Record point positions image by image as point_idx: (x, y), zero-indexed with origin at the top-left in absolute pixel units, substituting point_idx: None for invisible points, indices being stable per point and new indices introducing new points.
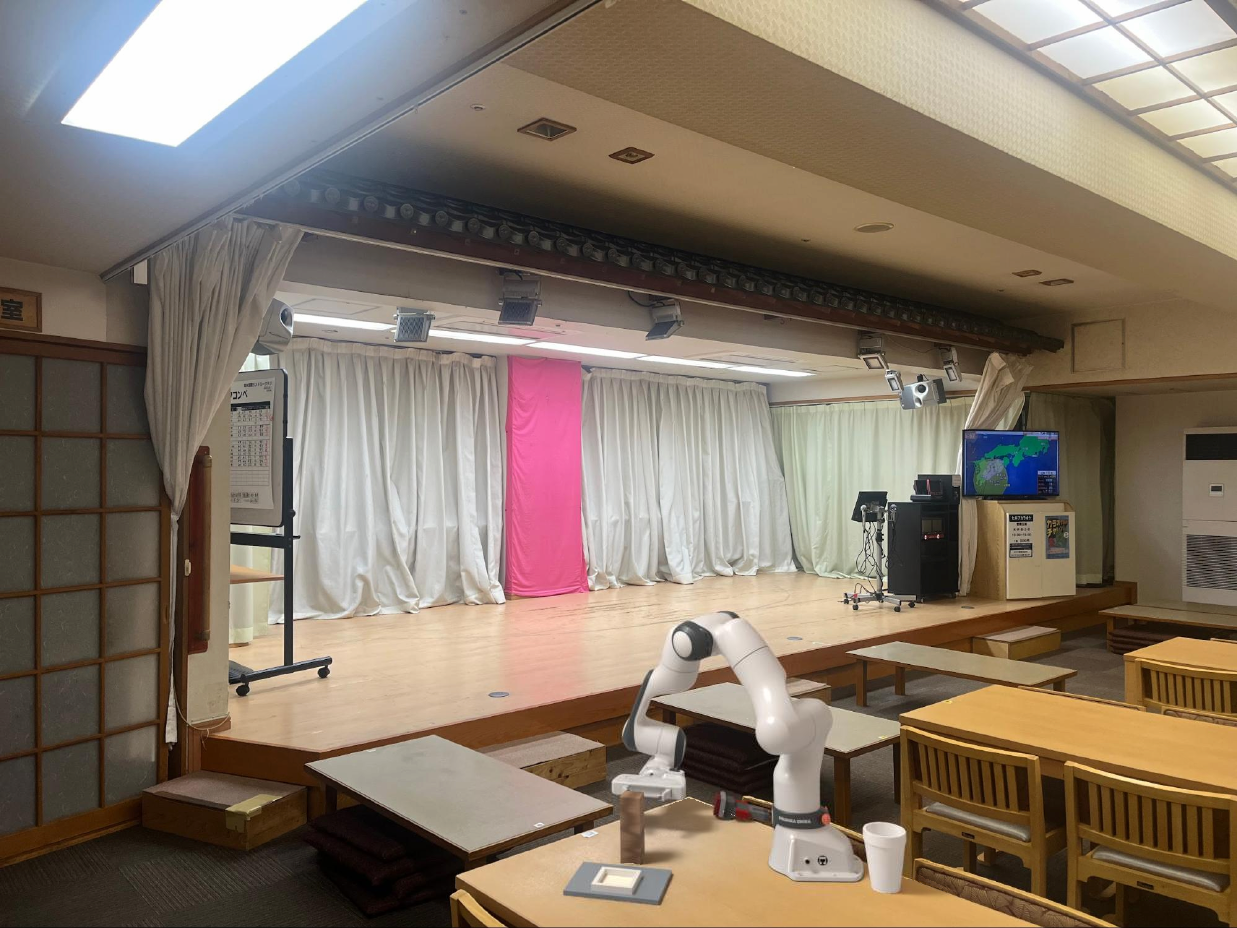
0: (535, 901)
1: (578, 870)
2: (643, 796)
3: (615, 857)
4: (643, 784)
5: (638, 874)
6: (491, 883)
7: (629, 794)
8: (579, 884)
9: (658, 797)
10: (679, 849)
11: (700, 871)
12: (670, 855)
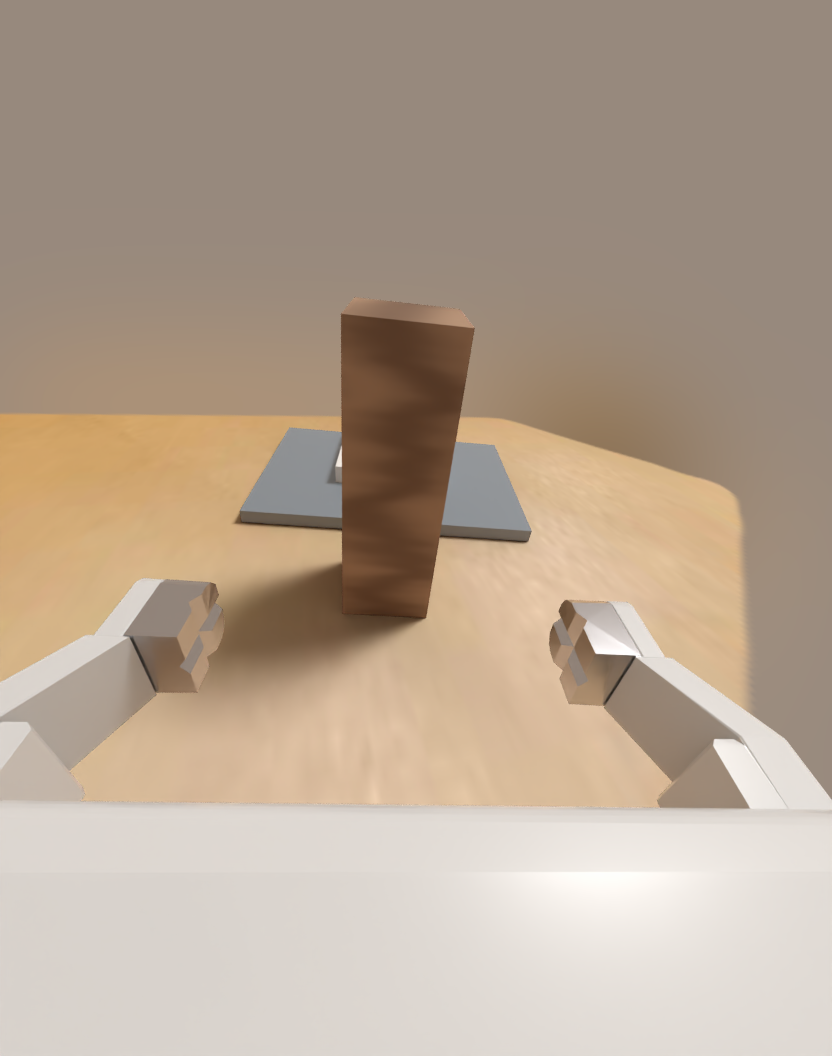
0: (527, 441)
1: (512, 496)
2: (343, 338)
3: (456, 596)
4: (476, 813)
5: (340, 454)
6: (656, 475)
7: (422, 312)
8: (474, 458)
9: (216, 599)
10: (154, 710)
11: (129, 541)
12: (222, 638)
